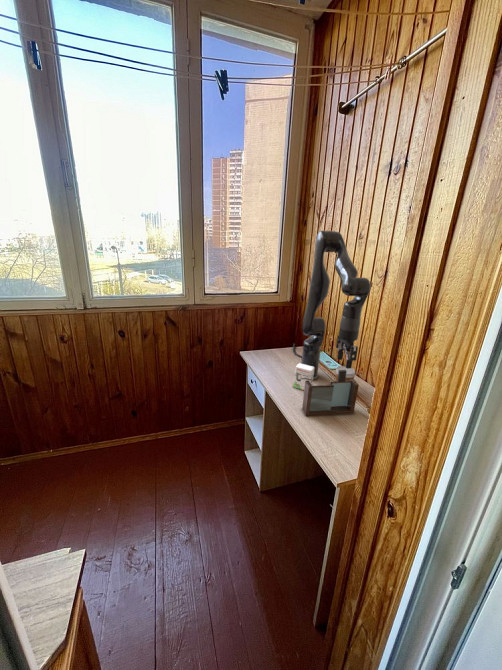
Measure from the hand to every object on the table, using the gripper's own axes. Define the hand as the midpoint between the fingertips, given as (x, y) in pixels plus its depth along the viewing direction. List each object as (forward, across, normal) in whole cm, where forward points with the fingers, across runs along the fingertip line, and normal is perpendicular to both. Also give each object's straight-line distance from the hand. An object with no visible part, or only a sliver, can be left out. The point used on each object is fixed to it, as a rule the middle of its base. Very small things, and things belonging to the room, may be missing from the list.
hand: (343, 363), depth 124 cm
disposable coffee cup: (+23, +15, -9) cm, 29 cm away
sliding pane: (+21, 0, 0) cm, 21 cm away
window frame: (+23, -1, +5) cm, 23 cm away
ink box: (+23, +20, +10) cm, 32 cm away
